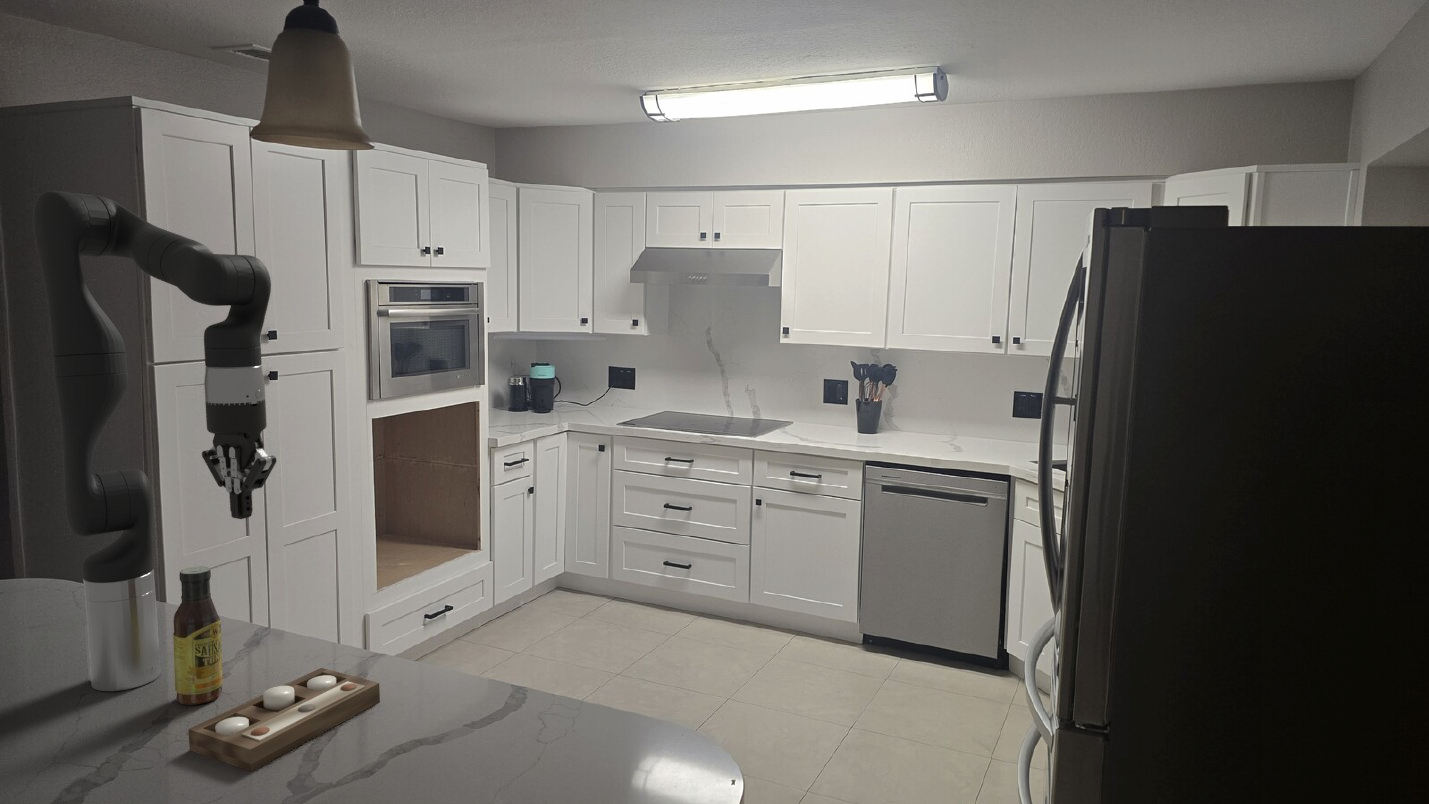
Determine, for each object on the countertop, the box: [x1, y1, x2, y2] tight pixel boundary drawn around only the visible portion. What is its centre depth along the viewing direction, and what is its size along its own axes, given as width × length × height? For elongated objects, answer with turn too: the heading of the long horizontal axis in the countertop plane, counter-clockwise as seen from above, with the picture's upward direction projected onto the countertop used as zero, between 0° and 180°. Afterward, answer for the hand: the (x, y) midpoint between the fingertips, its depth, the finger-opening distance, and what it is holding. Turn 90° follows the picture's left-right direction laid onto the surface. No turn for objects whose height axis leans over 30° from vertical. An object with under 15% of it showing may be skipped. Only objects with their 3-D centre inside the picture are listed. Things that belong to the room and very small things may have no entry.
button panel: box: [187, 667, 381, 772], centre depth 130 cm, size 12×22×3 cm, turn 155°
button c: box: [215, 717, 249, 736], centre depth 124 cm, size 4×4×2 cm
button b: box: [262, 685, 295, 712], centre depth 131 cm, size 4×4×2 cm
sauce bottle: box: [172, 565, 224, 706], centre depth 137 cm, size 7×6×20 cm
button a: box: [307, 675, 336, 691], centre depth 138 cm, size 4×4×2 cm
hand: (241, 517), depth 131 cm, fingers closed
